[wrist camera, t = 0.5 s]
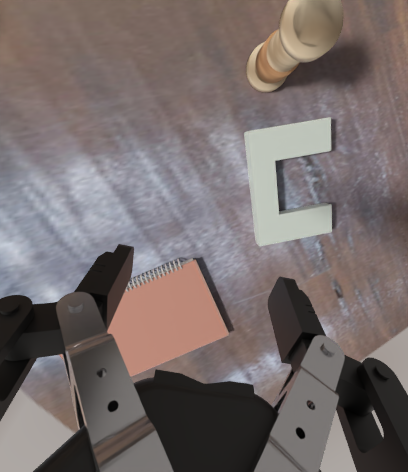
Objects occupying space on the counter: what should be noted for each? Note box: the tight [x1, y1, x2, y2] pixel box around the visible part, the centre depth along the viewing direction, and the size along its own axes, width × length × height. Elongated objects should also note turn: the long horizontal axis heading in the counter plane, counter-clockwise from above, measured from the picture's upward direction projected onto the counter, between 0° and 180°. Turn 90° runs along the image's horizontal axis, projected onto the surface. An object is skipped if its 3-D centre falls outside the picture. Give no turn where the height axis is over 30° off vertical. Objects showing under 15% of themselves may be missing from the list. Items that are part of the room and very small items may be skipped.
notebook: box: [60, 258, 230, 377], centre depth 42 cm, size 27×17×2 cm, turn 112°
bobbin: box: [246, 0, 343, 93], centre depth 28 cm, size 6×6×12 cm
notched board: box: [244, 117, 332, 246], centre depth 37 cm, size 17×12×2 cm
